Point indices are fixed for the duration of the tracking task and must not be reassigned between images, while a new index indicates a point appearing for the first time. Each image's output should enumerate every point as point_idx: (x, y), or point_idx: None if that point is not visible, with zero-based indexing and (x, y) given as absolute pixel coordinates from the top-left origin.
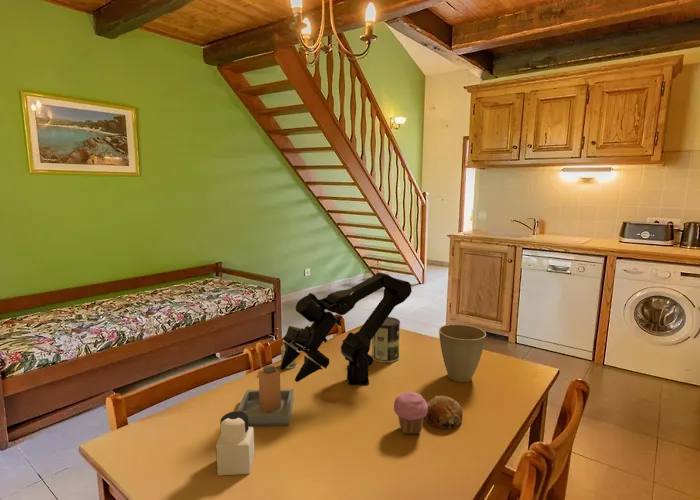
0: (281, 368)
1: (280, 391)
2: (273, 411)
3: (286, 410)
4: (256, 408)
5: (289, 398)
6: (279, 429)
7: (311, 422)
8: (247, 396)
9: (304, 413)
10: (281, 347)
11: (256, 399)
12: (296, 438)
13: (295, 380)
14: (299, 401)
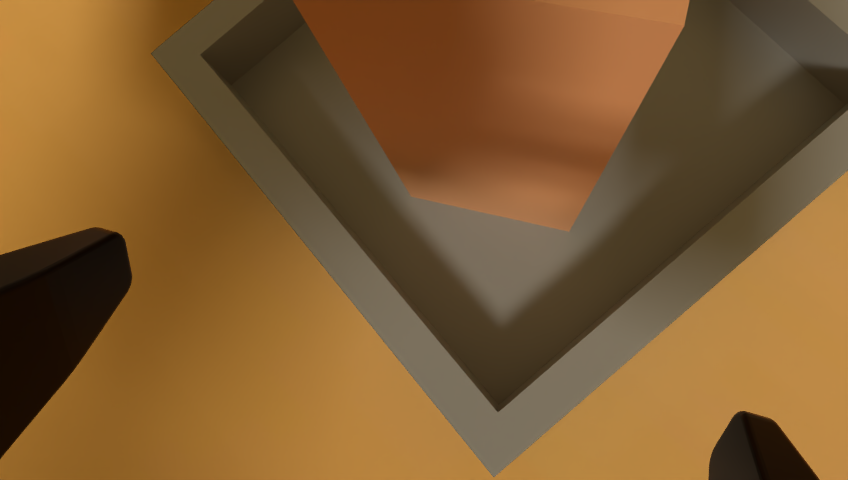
0: (732, 437)
1: (377, 137)
2: None
3: (219, 97)
4: None
5: (368, 282)
6: None
7: None
8: (813, 18)
9: (216, 317)
10: None
11: (753, 136)
12: (46, 33)
13: (94, 230)
14: (406, 452)
